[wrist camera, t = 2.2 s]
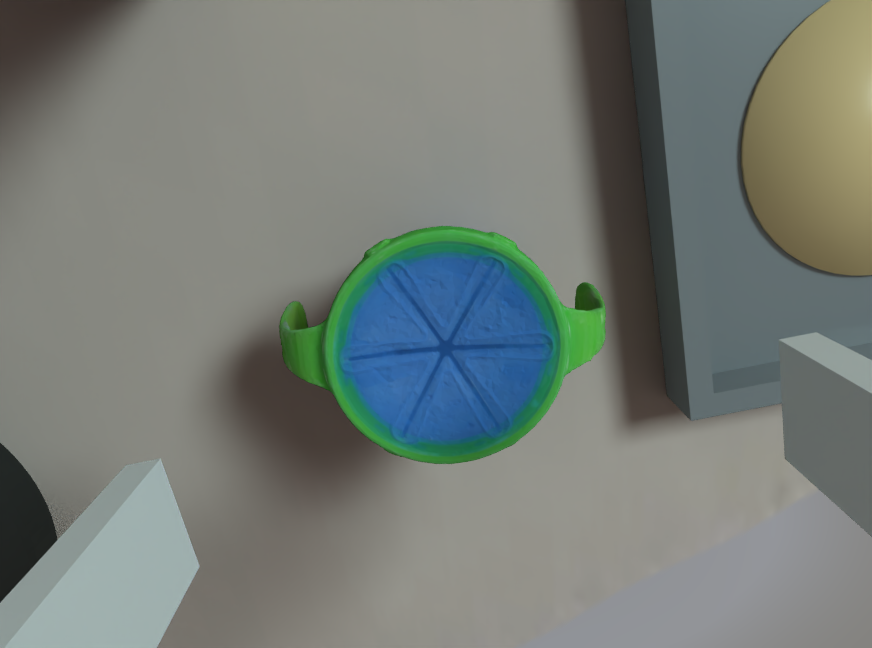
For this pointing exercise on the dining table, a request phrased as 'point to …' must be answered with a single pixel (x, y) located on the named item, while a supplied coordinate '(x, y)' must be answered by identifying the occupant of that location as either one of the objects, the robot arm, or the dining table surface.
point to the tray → (754, 186)
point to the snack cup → (445, 344)
